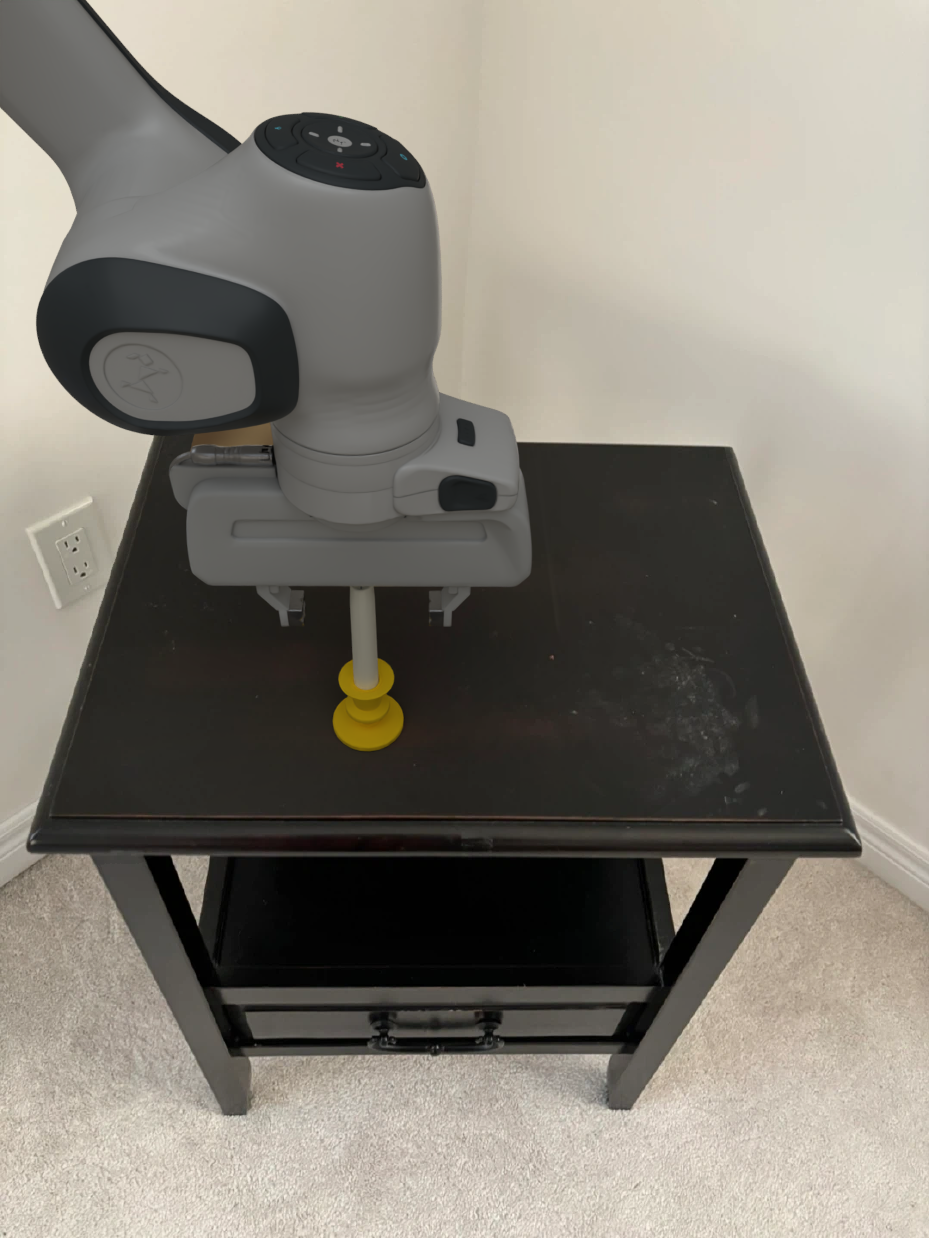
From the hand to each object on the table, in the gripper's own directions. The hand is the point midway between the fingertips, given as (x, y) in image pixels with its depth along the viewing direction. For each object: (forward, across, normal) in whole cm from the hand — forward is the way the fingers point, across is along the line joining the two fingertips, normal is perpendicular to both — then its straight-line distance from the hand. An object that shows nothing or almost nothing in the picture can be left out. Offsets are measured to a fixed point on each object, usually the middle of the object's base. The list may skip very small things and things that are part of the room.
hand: (367, 619), depth 61 cm
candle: (+12, 0, 0) cm, 12 cm away
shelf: (+11, -8, +26) cm, 29 cm away
